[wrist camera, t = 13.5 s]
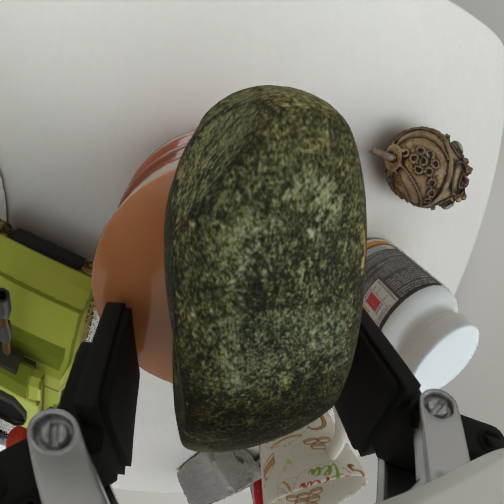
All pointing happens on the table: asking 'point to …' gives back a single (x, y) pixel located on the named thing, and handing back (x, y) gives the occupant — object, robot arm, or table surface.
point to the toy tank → (39, 321)
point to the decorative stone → (263, 267)
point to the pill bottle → (417, 315)
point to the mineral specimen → (217, 475)
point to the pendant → (426, 168)
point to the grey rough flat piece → (3, 436)
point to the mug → (311, 465)
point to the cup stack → (141, 258)
